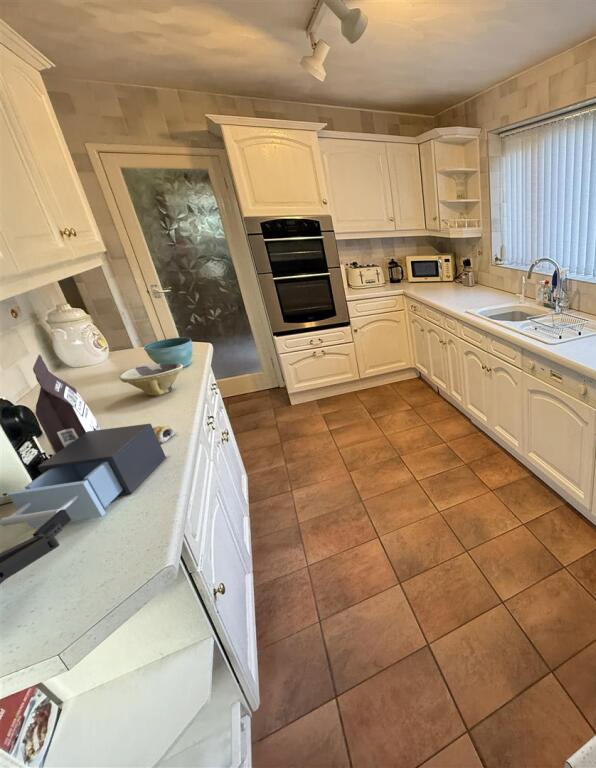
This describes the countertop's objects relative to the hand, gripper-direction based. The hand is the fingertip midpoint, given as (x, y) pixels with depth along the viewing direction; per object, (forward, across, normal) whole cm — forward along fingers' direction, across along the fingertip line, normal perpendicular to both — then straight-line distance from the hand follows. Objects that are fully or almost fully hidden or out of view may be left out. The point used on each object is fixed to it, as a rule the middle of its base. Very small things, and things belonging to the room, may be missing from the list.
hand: (22, 521), depth 75 cm
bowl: (+84, +18, +8) cm, 86 cm away
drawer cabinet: (+24, 0, +8) cm, 25 cm away
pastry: (+44, +1, +8) cm, 44 cm away
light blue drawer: (+11, 0, +7) cm, 13 cm away
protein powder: (+40, +16, +8) cm, 44 cm away
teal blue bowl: (+115, +26, +8) cm, 118 cm away
